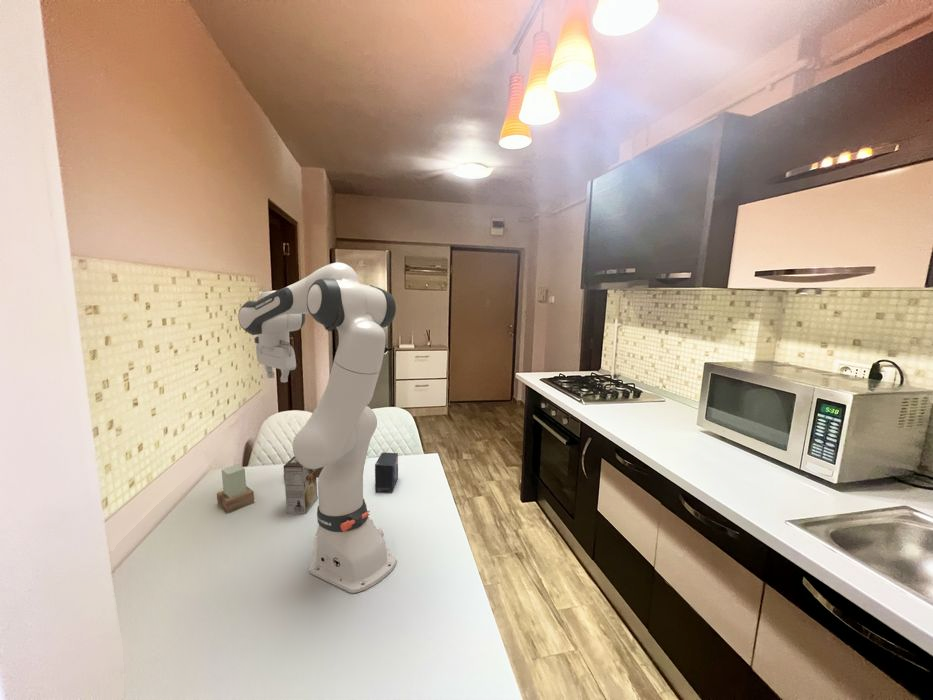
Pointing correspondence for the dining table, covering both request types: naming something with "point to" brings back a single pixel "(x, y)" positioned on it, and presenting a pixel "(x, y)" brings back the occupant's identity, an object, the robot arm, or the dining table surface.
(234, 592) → the dining table surface
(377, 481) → the small box
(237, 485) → the sage block
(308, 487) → the coffee box
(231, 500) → the base block
